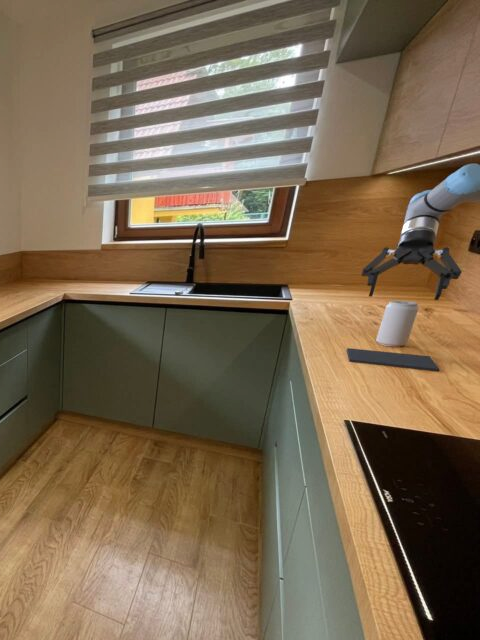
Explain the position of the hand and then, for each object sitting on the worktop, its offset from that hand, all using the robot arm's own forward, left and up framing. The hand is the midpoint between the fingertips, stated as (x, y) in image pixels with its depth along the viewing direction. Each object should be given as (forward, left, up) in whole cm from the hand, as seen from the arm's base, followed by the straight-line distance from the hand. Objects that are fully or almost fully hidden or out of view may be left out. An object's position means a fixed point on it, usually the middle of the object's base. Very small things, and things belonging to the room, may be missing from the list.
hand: (403, 295), depth 122 cm
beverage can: (+1, +8, -13) cm, 15 cm away
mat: (+3, +26, -13) cm, 29 cm away
